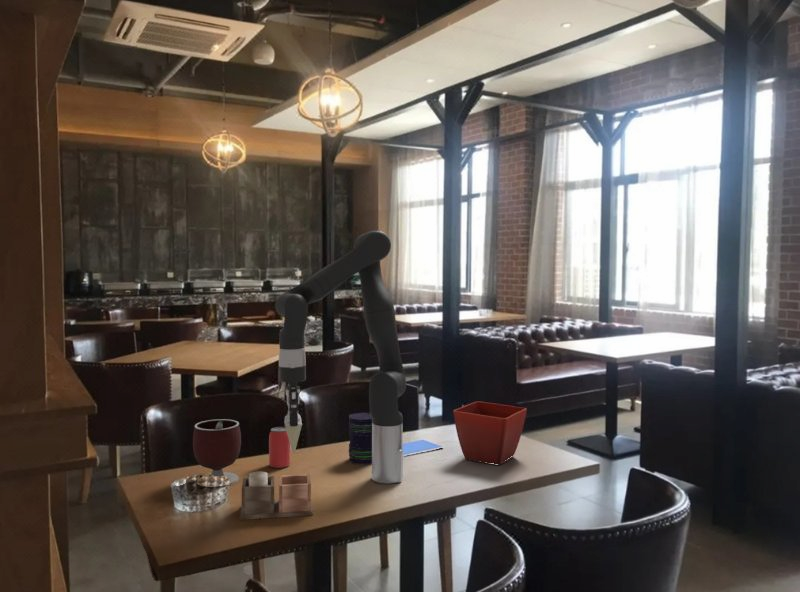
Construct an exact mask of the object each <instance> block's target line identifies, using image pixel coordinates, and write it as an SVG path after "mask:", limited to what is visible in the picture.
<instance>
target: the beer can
mask: <svg viewBox="0 0 800 592" xmlns="http://www.w3.org/2000/svg"><path fill="white" fill-rule="evenodd" d="M290 463H291V445H290V441H289V438H288V434H287V431H286V428H285V426H276V427H272V428H271V429H270V432H269V435H268V465H269V466H270V467H271V468H273V469H283V468H287V467H289V466H290Z"/></svg>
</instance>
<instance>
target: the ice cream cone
mask: <svg viewBox="0 0 800 592" xmlns="http://www.w3.org/2000/svg"><path fill="white" fill-rule="evenodd" d="M291 408H296V407H295V405H291ZM283 422H284V426H283V427H285V428H286V431H287V434H288V438H289V441H290V449H291V452H292V453H293V454H295V452H296V448H297V446H298V442H299V437H300V433H301V430H302V426H303V423H302V417H301V415H300V414H299V413H298V425H297V426H290V413H289V408H288V410H287V414H286V415H285V416H284V421H283Z"/></svg>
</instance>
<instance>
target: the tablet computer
mask: <svg viewBox="0 0 800 592" xmlns="http://www.w3.org/2000/svg"><path fill="white" fill-rule="evenodd" d="M402 446H403V456H407V455H411V456H413V455H412V454H416V453H421V452H425V453H427V452H426V451H430V452H432V451H431V450H435V449H439V448H443V449H444V447H443V446H442V445H439V444H436V443H433V442H431V441H428V440H425V439H418V440H414V441H408V442H405V443H403V442H402ZM435 451H436V450H435ZM421 454H422V453H421ZM416 455H417V454H416ZM407 457H408V456H407Z"/></svg>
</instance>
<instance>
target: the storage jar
mask: <svg viewBox="0 0 800 592" xmlns="http://www.w3.org/2000/svg"><path fill="white" fill-rule="evenodd" d="M348 419H349V420H348V433H349V444H348V456H349V458H348V461H349V463H350V464H353V465H359V466H360V465H361V466H364V465H366V464H367V465H372V416H371V414H370V412H355V413H351V414H349V415H348ZM367 465H366V466H367Z"/></svg>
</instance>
